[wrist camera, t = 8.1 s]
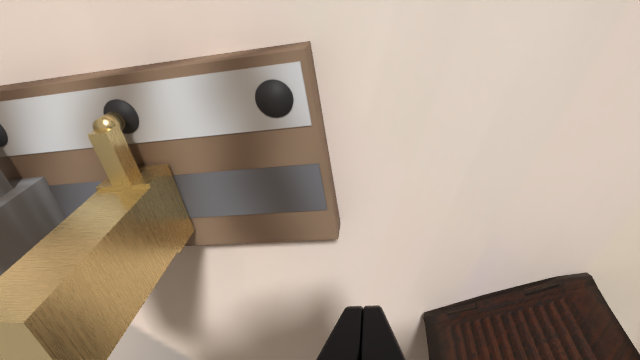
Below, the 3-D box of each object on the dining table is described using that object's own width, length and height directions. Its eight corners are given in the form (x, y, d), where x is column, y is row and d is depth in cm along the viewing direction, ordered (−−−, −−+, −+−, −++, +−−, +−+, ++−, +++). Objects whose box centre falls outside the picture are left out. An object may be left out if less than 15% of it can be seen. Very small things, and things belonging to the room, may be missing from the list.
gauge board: (310, 41, 18) (229, 155, 8) (340, 222, 23) (312, 425, 13) (-32, 90, 22) (-365, 209, 12) (60, 237, 27) (-121, 403, 17)
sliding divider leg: (144, 104, 19) (-47, 234, 10) (194, 229, 23) (84, 400, 14) (90, 110, 20) (-132, 239, 11) (148, 232, 23) (16, 397, 15)
